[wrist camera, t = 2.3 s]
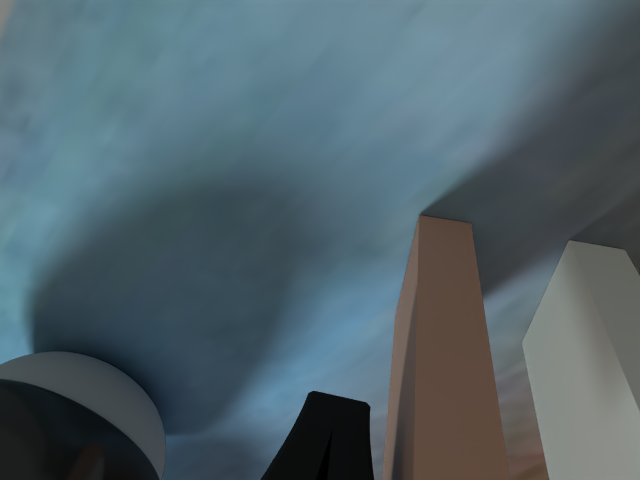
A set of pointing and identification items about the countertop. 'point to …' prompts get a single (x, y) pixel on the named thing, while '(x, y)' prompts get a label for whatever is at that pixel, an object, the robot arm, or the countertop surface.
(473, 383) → the end domino
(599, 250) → the domino
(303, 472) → the robot arm
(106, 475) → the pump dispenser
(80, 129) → the countertop surface
